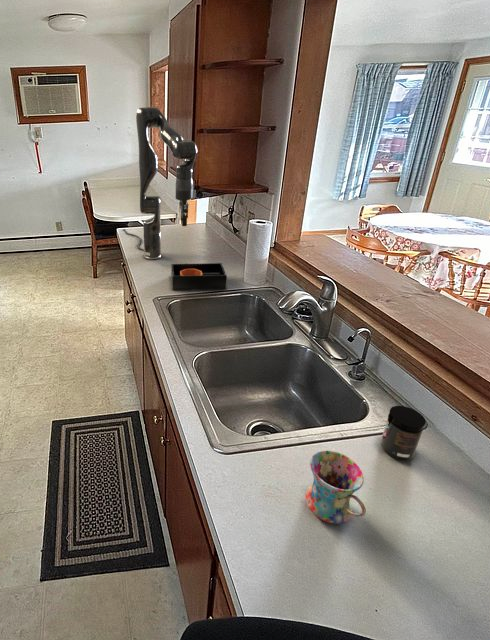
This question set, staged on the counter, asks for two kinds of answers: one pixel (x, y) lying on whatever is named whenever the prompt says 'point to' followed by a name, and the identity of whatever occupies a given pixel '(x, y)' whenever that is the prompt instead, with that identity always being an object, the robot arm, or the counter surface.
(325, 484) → the mug
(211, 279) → the black storage tray
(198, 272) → the pan
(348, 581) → the counter surface
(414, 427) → the supplement container
